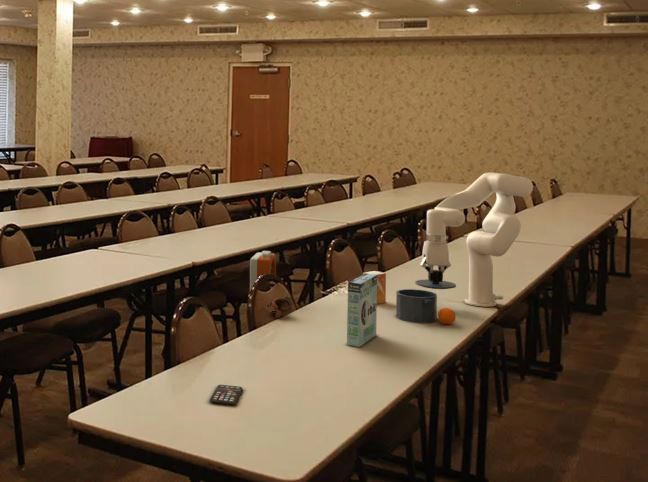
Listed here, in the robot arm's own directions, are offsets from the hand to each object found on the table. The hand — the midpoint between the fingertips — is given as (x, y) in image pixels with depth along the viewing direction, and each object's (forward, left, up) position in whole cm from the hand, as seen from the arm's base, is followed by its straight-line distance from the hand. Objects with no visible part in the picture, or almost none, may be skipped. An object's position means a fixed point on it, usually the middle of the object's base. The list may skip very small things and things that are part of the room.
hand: (435, 281), depth 350 cm
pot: (+16, +14, -12) cm, 24 cm away
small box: (+21, -14, -12) cm, 28 cm away
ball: (+9, +25, -12) cm, 29 cm away
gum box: (+52, +43, -12) cm, 68 cm away
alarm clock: (+66, -31, -12) cm, 74 cm away
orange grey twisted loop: (+71, +4, -12) cm, 72 cm away
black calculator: (+117, +95, -12) cm, 151 cm away
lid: (0, 0, -2) cm, 2 cm away
